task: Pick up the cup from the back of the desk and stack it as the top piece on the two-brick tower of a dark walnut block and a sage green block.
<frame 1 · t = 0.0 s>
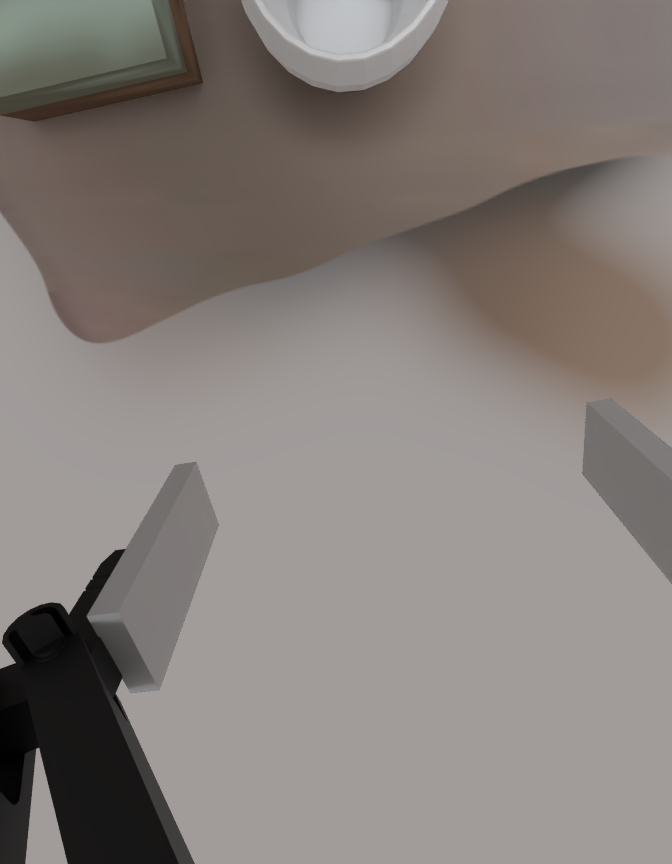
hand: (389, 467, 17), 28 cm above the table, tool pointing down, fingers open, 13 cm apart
cup: (344, 23, 33), on the table
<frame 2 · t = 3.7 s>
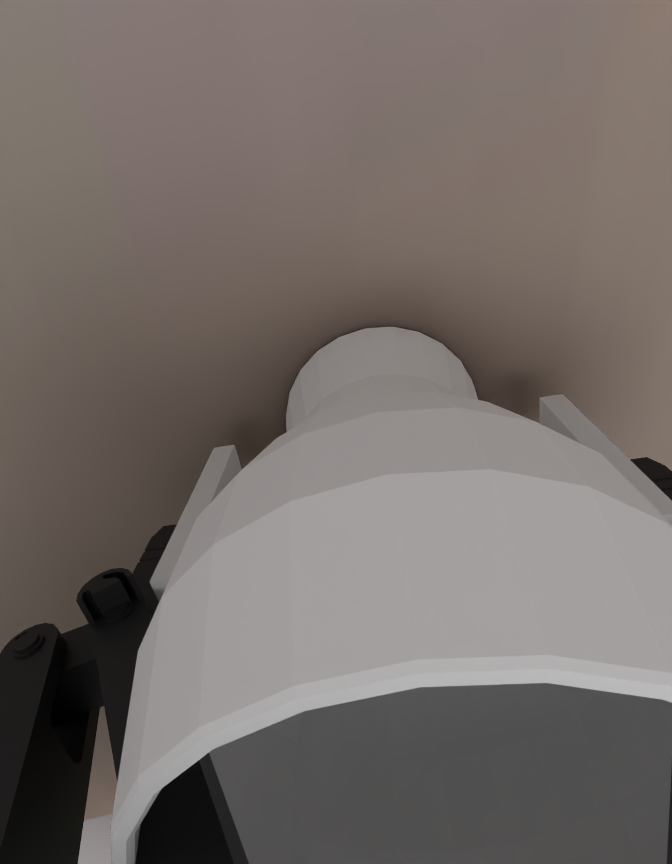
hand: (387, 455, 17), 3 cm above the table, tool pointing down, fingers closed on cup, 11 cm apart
cup: (380, 417, 20), on the table, touching gripper
when the fingers open (12 cm above the table, at t = 10.5 s): cup drops 1 cm, resting on tower base.
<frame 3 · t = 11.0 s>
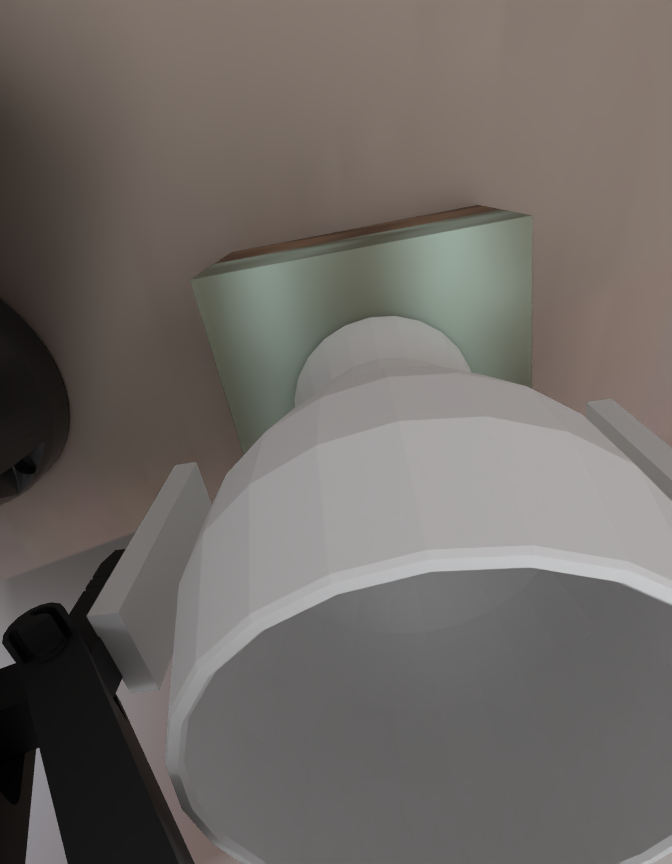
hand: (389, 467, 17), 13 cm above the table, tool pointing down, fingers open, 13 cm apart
cup: (383, 402, 21), point 8 cm above the table, touching tower base
tower base: (370, 348, 28), on the table
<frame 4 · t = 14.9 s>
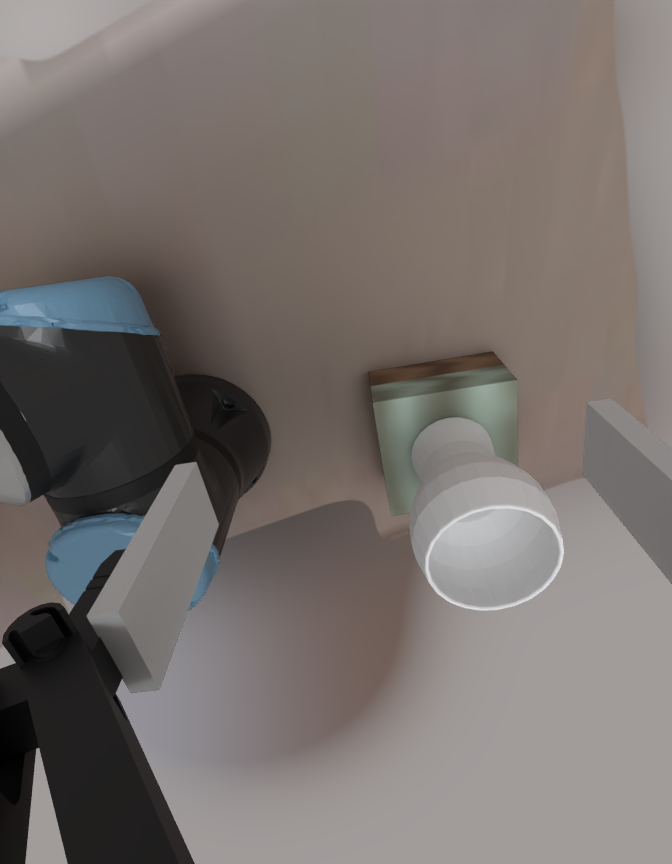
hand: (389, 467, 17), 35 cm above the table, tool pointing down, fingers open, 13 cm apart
cup: (451, 451, 47), point 8 cm above the table, touching tower base
tower base: (435, 417, 54), on the table
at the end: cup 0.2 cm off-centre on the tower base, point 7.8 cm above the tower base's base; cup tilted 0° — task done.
